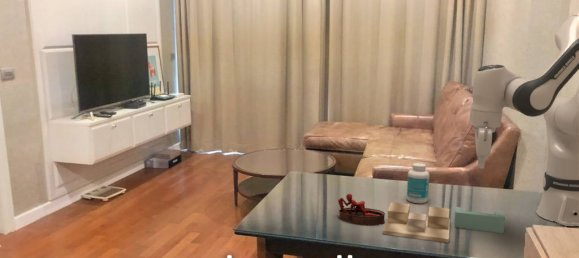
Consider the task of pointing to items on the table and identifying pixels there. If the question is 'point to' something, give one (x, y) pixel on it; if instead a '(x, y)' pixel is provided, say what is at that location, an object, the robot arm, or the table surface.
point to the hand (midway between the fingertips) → (480, 164)
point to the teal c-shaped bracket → (479, 221)
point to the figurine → (359, 213)
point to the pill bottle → (418, 184)
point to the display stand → (418, 223)
